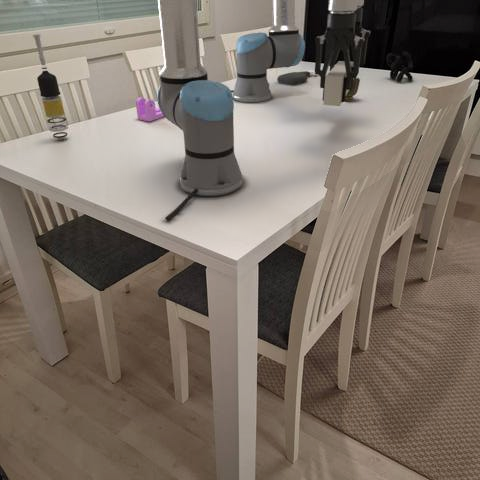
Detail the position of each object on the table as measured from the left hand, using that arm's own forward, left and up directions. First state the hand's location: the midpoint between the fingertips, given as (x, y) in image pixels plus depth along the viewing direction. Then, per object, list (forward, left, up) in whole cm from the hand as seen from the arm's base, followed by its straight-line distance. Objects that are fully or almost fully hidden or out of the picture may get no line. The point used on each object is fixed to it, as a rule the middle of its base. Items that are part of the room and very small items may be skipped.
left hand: (333, 99), depth 132 cm
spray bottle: (+74, +27, -11) cm, 80 cm away
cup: (+44, +1, -11) cm, 46 cm away
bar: (+8, 0, -1) cm, 8 cm away
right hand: (+16, 0, 0) cm, 16 cm away
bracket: (+4, +63, -11) cm, 64 cm away
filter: (-27, +80, -11) cm, 85 cm away
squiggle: (+85, -16, -11) cm, 87 cm away
